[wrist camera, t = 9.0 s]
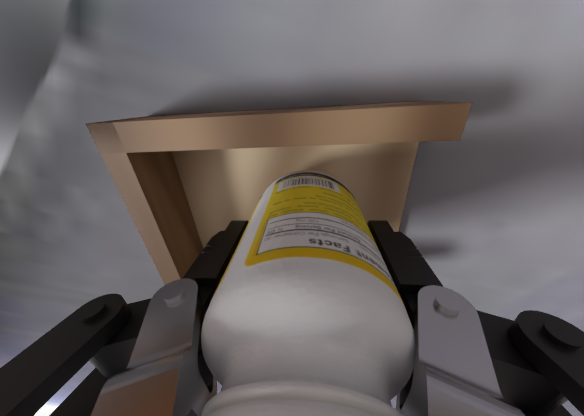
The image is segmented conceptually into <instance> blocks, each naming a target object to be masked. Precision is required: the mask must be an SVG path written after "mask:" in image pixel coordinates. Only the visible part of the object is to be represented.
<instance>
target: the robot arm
mask: <svg viewBox="0 0 584 416" xmlns="http://www.w3.org/2000/svg"><path fill="white" fill-rule="evenodd" d="M248 223H249V221H248V220H232V221H231V222H230V223H229V225H228V226H227V228H226V229H225V231H220V232H218V233H217V234H215V235H214V236H213V237H211V239H210V240H209V242H208V243H207V244H206V247H204V249H203V250H202V251H201V254H199V256H198V257H197V259H196V260H195V261H194V263H193V264H192V266H191V267H190V268H189V270H188V271H187V273H186V274H185V275H184V277H183V278H182V279H178V280H174V281H172V282H170V283H168V284H166V285H164V286H163V287H162V288H160V289H159V290H158V291H157V292H156V293H155V294H154V295H153V297H152V298H151V299H147V300H143V301H138V302H134V303H130V304H127V303H126V302H125V300H124V299H123V297H122V296H121V295H119V294H107V295H103V296H100V297H98V298H95V299H93V300H91V301H89V302H88V303H86V304H84V305H83V306H81V307H80V308H79V309H77V310H76V311H75V312H73V313H72V314H71V315H69V316H68V317H67V318H66V319H64V320H63V321H62V322H60V323H59V324H58V325H56V326H55V327H54V328H52V329H51V330H50V331H48V332H47V333H46V334H45V335H43V336H42V337H41V338H39V339H38V340H37V341H35V342H34V343H33V344H31V345H30V346H29V347H28V348H26V349H25V350H24V351H22V352H21V353H20V354H18V355H17V356H16V357H14V358H13V359H12V360H11V361H9V362H8V363H7V364H5V365H4V366H3V367H1V368H0V416H34V415H35V413H36V412H37V411H38V410H39V409H40V408H41V407H42V406H43V405H44V404H45V403H46V402H47V401H48V400H49V399H50V398H51V397H52V396H53V395H54V394H55V393H56V392H57V391H58V390H59V389H60V388H61V387H62V386H63V385H64V384H65V383H66V382H68V381H69V380H70V379H71V378H72V377H73V376H74V375H75V374H76V373H77V372H78V371H79V370H80V369H81V368H82V367H83V366H84V365H85V364H86V363H87V362H88V361H90V362H91V363H92V364H93V365H94V366H95V367H96V368H95V369H94V370H93V371H92V372H91V373H90V374H89V375H88V376H87V377H86V378H85V379H84V380H83V381H82V382H81V384H80V385H79V386H78V387H77V388H76V389H75V390H74V391H73V392H72V393H71V394H70V395H69V396H68V397H67V398H66V399H65V400H64V401H63V402H62V403H61V404H60V405H59V406H58V407H57V408H56V409H55V411H54V412H53V413H52V414H51V415H50V416H201V415H202V411H203V408H204V406H205V405H206V403H207V402H208V401H209V400H210V399H211V398H212V397H214V396H215V395H217V379H216V378H215V377H214V376H213V374H212V373H211V371H210V370H209V368H208V366H207V364H206V362H205V359H204V356H203V352H202V345H201V331H202V325H203V321H204V317H205V314H206V312H207V310H208V307H209V305H210V302H211V300H212V298H213V295H214V293H215V291H216V289H217V287H218V285H219V283H220V281H221V279H222V277H223V275H224V272H225V270H226V268H227V266H228V264H229V262H230V260H231V258H232V256H233V254H234V252H235V250H236V248H237V246H238V244H239V241H240V239H241V237H242V235H243V233H244V231H245V229H246V227H247V225H248ZM367 225H368V227H369V230H370V232H371V234H372V236H373V238H374V240H375V243H376V245H377V247H378V249H379V251H380V254H381V256H382V258H383V260H384V262H385V264H386V267H387V269H388V271H389V273H390V275H391V278H392V280H393V282H394V284H395V286H396V288H397V291H398V293H399V295H400V297H401V299H402V301H403V304H404V306H405V309H406V311H407V314H408V317H409V319H410V322H411V325H412V327H413V330H414V335H415V351H414V368H413V371H412V374H411V377H410V379H409V380H408V382H407V384H406V385H405V386H404V388H403V389H402V390H401V391H400V392H399V393H398V394H397V400H396V410H398V411H399V412H400V413H401V414H402V415H403V416H572V415H571V414H570V413H569V412H568V411H567V410H566V409H565V408H564V407H563V406H562V404H563V403H565V402H566V401H567V400H569V401H570V402H571V403H572V404H573V405H574V406H575V407H576V408H577V409H578V410H579V411H580V412H581V413H582V414H583V415H584V332H583V331H581V330H580V329H579V328H577V327H575V326H574V325H572V324H570V323H568V322H566V321H564V320H562V319H560V318H558V317H555V316H553V315H550V314H547V313H543V312H539V311H531V310H530V311H523V312H521V313H520V314H519V315H518V316H517V318H516V319H515V320H514V321H513V320H509V319H505V318H502V317H498V316H495V315H491V314H488V313H484V312H481V311H478V310H476V309H475V307H474V306H473V305H472V304H471V303H470V302H469V301H468V300H467V299H466V298H464V297H463V296H462V295H460V294H459V293H457V292H455V291H453V290H451V289H448V288H445V287H443V285H442V284H441V282H440V281H439V280H438V278H437V277H436V275H435V274H434V272H433V271H432V270H431V268H430V267H429V265H428V264H427V262H426V261H425V259H424V258H423V257H422V255H421V254H420V252H419V251H418V250H417V249H416V247H415V245H414V244H413V242H412V241H411V239H409V238H408V237H407V236H405V235H404V234H403V233H401V232H394V231H393V229H392V227H391V226H390V224H389V223H388V221H386V220H369V221H368V223H367Z"/></svg>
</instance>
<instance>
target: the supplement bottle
mask: <svg viewBox="0 0 584 416" xmlns="http://www.w3.org/2000/svg"><path fill="white" fill-rule="evenodd" d="M201 345H202V352H203V356H204V359H205V362H206V364H207V366H208V368H209V370H210V371H211V373H212V374H213V376H214V377H215V378H216V379H217V381H218V382H219V383H220V384H221V385H222V389H221V392H220V393H218V394H217V395H215V396H214V397H212V398H211V399H210V400H209V401H208V402H207V403H206V405H205V406H204V408H203V411H202V415H201V416H403V415H402V414H401V413H400V412H399V411H398V410H396V409H394V408H393V407H392V405H391V402H390V400H391V399H392V398H393V397H395V396H396V395H397V394H398V393H399V392H400V391H401V390H402V389H403V388H404V386H405V385H406V384H407V382H408V380H409V379H410V377H411V374H412V371H413V368H414V351H415V335H414V330H413V327H412V325H411V322H410V319H409V317H408V314H407V311H406V309H405V306H404V304H403V301H402V299H401V297H400V295H399V293H398V291H397V288H396V286H395V284H394V282H393V280H392V278H391V275H390V273H389V271H388V269H387V267H386V264H385V262H384V260H383V258H382V256H381V254H380V251H379V249H378V247H377V245H376V243H375V240H374V238H373V236H372V234H371V232H370V230H369V227H368V225H367V223H366V221H365V219H364V217H363V214H362V212H361V210H360V208H359V206H358V204H357V202H356V200H355V198H354V196H353V195H352V193H351V192H350V190H349V189H348V188H347V187H346V186H345V185H344V184H343V183H342V182H341V181H339V180H338V179H337V178H335V177H333V176H331V175H329V174H326V173H323V172H319V171H312V170H303V171H296V172H292V173H289V174H286V175H284V176H282V177H280V178H278V179H277V180H275V181H274V182H273V183H272V184H271V185H270V186H269V187H268V188H267V189H266V190H265V192H264V193H263V195H262V196H261V198H260V200H259V202H258V204H257V206H256V208H255V210H254V212H253V214H252V216H251V218H250V220H249V223H248V225H247V227H246V229H245V231H244V233H243V235H242V237H241V239H240V241H239V244H238V246H237V248H236V250H235V252H234V254H233V256H232V258H231V260H230V262H229V264H228V266H227V268H226V270H225V272H224V275H223V277H222V279H221V281H220V283H219V285H218V287H217V289H216V291H215V293H214V295H213V298H212V300H211V302H210V305H209V307H208V310H207V312H206V314H205V317H204V321H203V325H202V331H201Z"/></svg>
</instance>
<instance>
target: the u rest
mask: <svg viewBox="0 0 584 416" xmlns="http://www.w3.org/2000/svg"><path fill="white" fill-rule="evenodd" d="M471 106H472V103H460V102H434V101H414V102H396V103H379V104H361V105H343V106H325V107H307V108H289V109H271V110H253V111H235V112H217V113H199V114H181V115H163V116H146V117H138V118H130V119H121V120H113V121H104V122H96V123H88V124H86V125H87V127H88V129H89V132H90V134H91V136H92V138H93V140H94V142H95V144H96V146H97V148H98V150H99V152H100V154H101V156H102V158H103V160H104V162H105V164H106V166H107V168H108V170H109V172H110V174H111V176H112V178H113V180H114V182H115V184H116V186H117V188H118V190H119V192H120V194H121V196H122V199H123V201H124V203H125V205H126V207H127V209H128V211H129V213H130V215H131V217H132V219H133V221H134V223H135V225H136V227H137V229H138V231H139V233H140V235H141V237H142V239H143V241H144V243H145V245H146V247H147V249H148V251H149V253H150V255H151V257H152V259H153V261H154V263H155V265H156V268H157V270H158V272H159V274H160V276H161V278H162V280H163V282H164V284H165V285H166V284H168V283H170V282H172V281H174V280H178V279H182V278H183V277H184V275H185V274H186V273H187V271H188V270H189V268H190V267H191V266H192V264H193V263H194V261H195V260H196V259H197V257H198V256H199V254H201V251H202V250H203V249H204V247H206V244H207V243H208V242H209V240H210V239H211V237H213V236H214V235H215V234H217V233H218V232H220V231H225V229H226V228H227V226H228V225H229V223H230V222H231V221H232V220H248V221H249V220H250V218H251V216H252V214H253V212H254V210H255V208H256V206H257V204H258V202H259V200H260V198H261V196H262V195H263V193H264V192H265V190H266V189H267V188H268V187H269V186H270V185H271V184H272V183H273V182H274V181H275V180H277V179H278V178H280V177H282V176H284V175H286V174H289V173H292V172H296V171H303V170H312V171H319V172H323V173H326V174H329V175H331V176H333V177H335V178H337V179H338V180H339V181H341V182H342V183H343V184H344V185H345V186H346V187H347V188H348V189H349V190H350V192H351V193H352V195H353V196H354V198H355V200H356V202H357V204H358V206H359V208H360V210H361V212H362V214H363V217H364V219H365V221H366V223H368V221H369V220H386V221H388V223H389V224H390V226H391V227H392V229H393V231H394V232H398V231H399V227H400V223H401V219H402V214H403V210H404V206H405V201H406V197H407V193H408V188H409V184H410V180H411V176H412V171H413V167H414V163H415V158H416V154H417V150H418V145H419V142H426V141H452V140H461V137H462V134H463V131H464V127H465V124H466V121H467V118H468V115H469V112H470V109H471Z"/></svg>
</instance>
